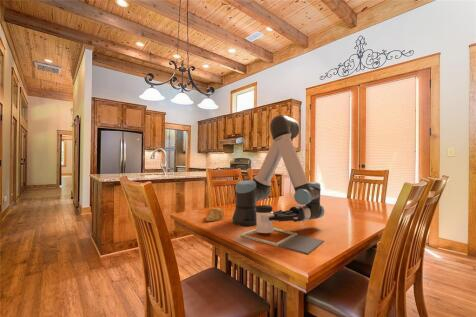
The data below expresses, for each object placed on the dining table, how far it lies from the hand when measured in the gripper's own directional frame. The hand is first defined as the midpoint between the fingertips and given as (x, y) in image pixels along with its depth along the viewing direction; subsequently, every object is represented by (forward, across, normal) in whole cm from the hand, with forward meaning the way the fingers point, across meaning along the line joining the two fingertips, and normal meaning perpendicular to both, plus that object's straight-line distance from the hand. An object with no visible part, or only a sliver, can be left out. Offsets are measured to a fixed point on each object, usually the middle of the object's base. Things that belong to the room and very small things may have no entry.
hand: (261, 218), depth 106 cm
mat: (-10, -15, -8) cm, 20 cm away
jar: (-4, +3, -8) cm, 9 cm away
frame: (-5, 0, -8) cm, 10 cm away
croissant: (+5, +41, -9) cm, 43 cm away
